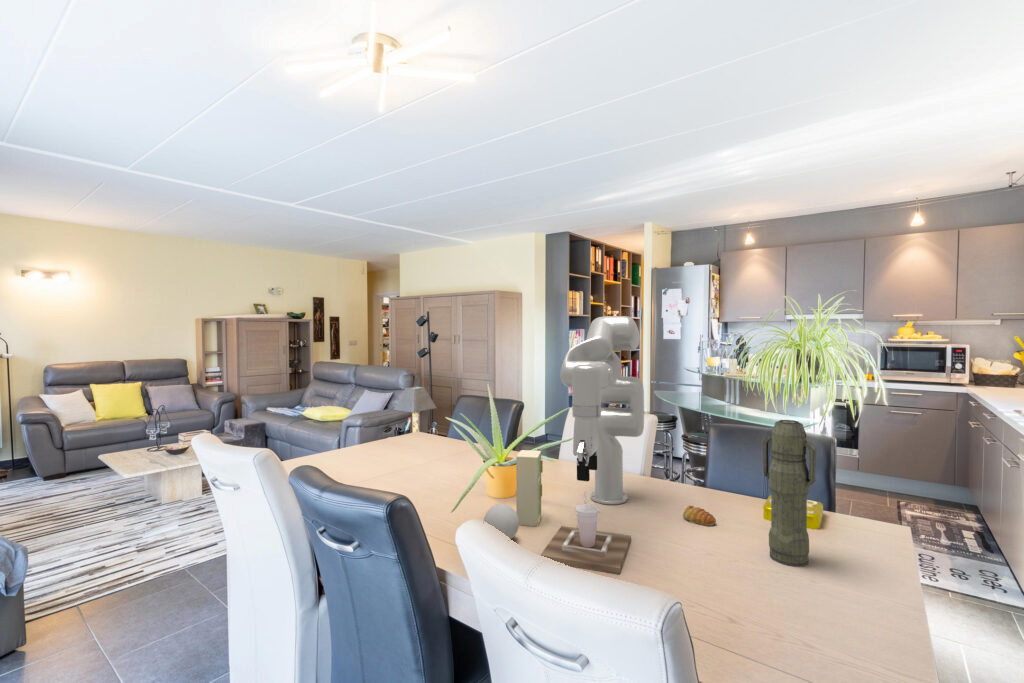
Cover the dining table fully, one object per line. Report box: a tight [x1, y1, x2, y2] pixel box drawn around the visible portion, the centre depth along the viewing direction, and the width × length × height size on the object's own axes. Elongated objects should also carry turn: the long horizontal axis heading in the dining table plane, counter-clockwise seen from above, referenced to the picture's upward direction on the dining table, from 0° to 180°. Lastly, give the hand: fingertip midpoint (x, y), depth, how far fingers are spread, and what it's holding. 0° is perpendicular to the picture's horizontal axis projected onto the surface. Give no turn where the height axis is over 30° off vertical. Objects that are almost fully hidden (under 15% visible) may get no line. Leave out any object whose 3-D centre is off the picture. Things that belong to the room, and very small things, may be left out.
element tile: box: [762, 494, 824, 530], centre depth 153 cm, size 15×15×5 cm
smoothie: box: [574, 491, 601, 547], centre depth 132 cm, size 6×6×14 cm
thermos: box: [763, 419, 817, 567], centre depth 125 cm, size 9×12×35 cm
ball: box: [483, 503, 520, 540], centre depth 138 cm, size 10×10×10 cm
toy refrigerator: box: [515, 449, 544, 527], centre depth 152 cm, size 8×7×21 cm
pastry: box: [682, 505, 717, 527], centre depth 151 cm, size 9×7×4 cm
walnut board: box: [540, 525, 632, 575], centre depth 131 cm, size 20×20×3 cm
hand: (587, 474), depth 131 cm, fingers open, 9 cm apart
